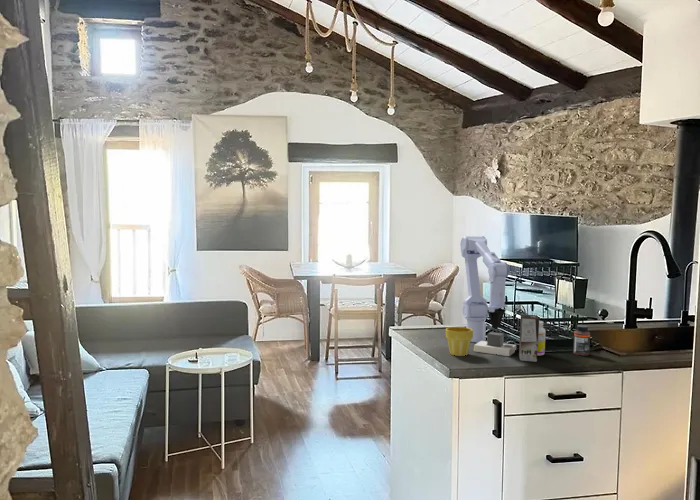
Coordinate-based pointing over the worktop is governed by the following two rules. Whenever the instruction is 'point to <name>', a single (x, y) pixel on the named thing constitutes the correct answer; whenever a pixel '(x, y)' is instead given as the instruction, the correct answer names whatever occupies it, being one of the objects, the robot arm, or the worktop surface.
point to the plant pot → (459, 340)
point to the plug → (495, 339)
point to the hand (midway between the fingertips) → (495, 327)
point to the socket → (495, 348)
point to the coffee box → (528, 338)
